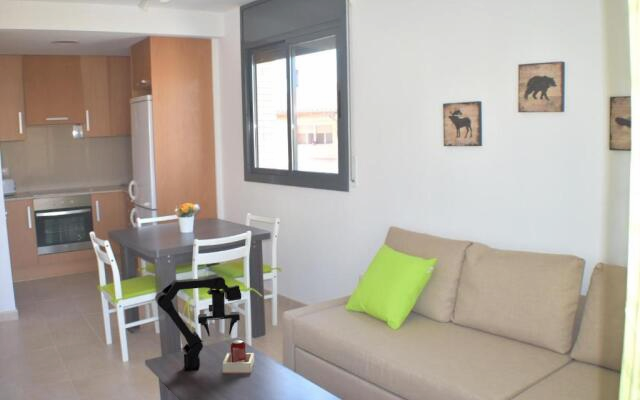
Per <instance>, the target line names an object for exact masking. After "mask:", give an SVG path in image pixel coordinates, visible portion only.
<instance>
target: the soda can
mask: <svg viewBox="0 0 640 400" xmlns="http://www.w3.org/2000/svg"><path fill="white" fill-rule="evenodd" d="M229 345H230V352H229V353H231V362H246V353H247V352H246V349H247V348H246V342H245V339H243V338H235V339H232V340H231V343H230V344H229Z"/></svg>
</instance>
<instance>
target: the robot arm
mask: <svg viewBox="0 0 640 400" xmlns="http://www.w3.org/2000/svg"><path fill="white" fill-rule="evenodd" d="M203 288H205V289H208V290H207V291H206V293H207V294H208V295H209V296H211V304H208V312H210V313H211V315H207V313H200V314H198V315H197V322H198V323H197V324H200V325H201V326H204V328H205V330H206V332H207V335H208V337H209V338H210V336H211V335H210V328H209V321H214V320H217V321H218V320H227V319H228V320H229V327H228V335H229V336H230V335H231V334H232V330H233V327H234V325H235V324H236V323H238V322H239V321H241V318H240V317H241V316H240V312H239V311H230V313H229V314H226V300H227V301H228V302H233V301H240V300H242V292H241V289H240V288H241V287H240V285H239V284H236V285H232V286H231V285H227V283H226V280H225V278H224V277H222V275H220V274H218V273H217V274H212V275H208V276H206V277H201V278H191V279H189V278H187V279H175V280H173V281H172V282H171V283H169V284H168V285H167V286H166V287H164V288H163V289H162V290H161V291H159V292H157V293H156V294H155V296H154V300H155V302H156V304H157V305H158V306H159V307H160V308H161V310H163V311H164V312H165V313H166V314H167V315H168V317H170V318H171V320H172V322H173V324H175V326H176V327H177V328H178V330H179V332H180V333H181V334H182V335H183V338H184V340H185V343H186V344H185V345H184V346H183V347H182V351H183V371H184V372H187V371H197V370H199V369H200V367H201V361H200V356H199V355H200V353H201V351H203V348H204V343H203V342H204V341H203V339H201V337H200V335H199V334H198V333H197V331H196V330H194V331H193V332H192V331H191V330H190V328H189V327H188V325H187V323H186V322H185V321H184V320H183V319H182V317H181V316H180V314H179V313H178V311H177V310H176V308H175V305H174V304H173V300H174V298H175V297H176V295H177V294H178V293H179V291H182V290H191V289H193V290H194V289H203Z"/></svg>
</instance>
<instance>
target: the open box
mask: <svg viewBox="0 0 640 400" xmlns="http://www.w3.org/2000/svg"><path fill="white" fill-rule="evenodd" d="M254 365H255V353H254V352H246V362H231V352H227V353H226V355H225V358H224V359H223V362H222V374H251V373H252V372H253V368H254Z"/></svg>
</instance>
